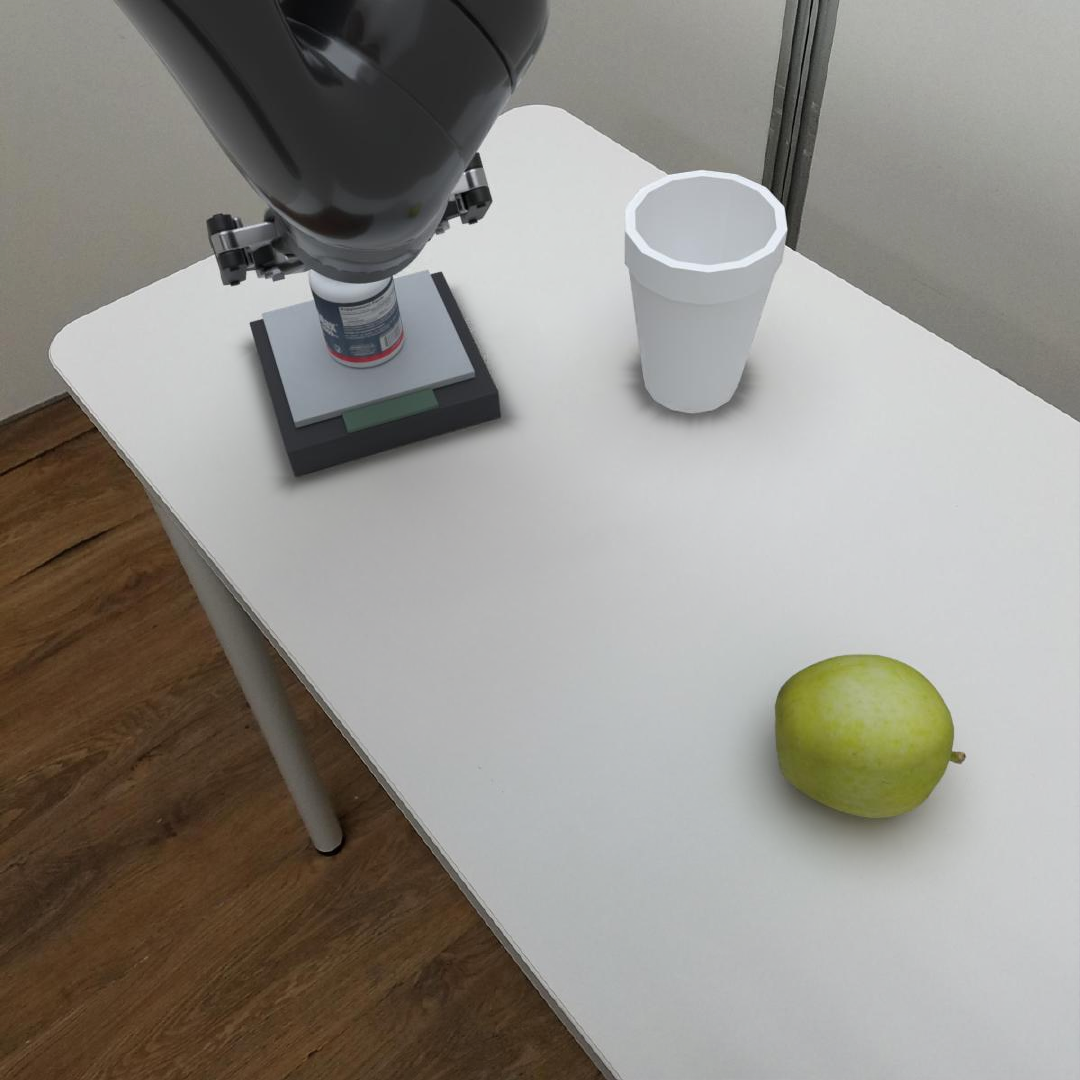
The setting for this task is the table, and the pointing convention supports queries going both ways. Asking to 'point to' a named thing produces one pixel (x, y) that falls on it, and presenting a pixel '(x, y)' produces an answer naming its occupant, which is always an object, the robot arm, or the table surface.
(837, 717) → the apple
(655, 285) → the foam cup
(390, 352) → the pill bottle
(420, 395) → the scale
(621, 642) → the table surface
